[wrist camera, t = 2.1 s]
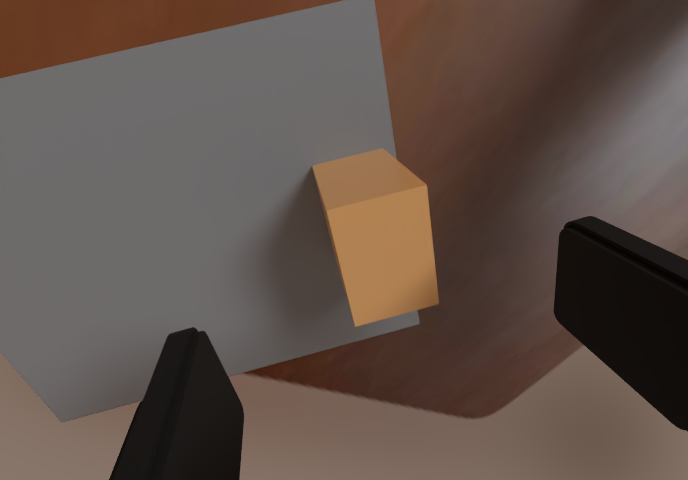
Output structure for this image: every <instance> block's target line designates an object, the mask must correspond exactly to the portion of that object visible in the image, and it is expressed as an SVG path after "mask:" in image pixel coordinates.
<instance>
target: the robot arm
mask: <svg viewBox="0 0 688 480" xmlns="http://www.w3.org/2000/svg"><path fill="white" fill-rule="evenodd" d="M554 314H555V317H556V319H557V320H558V322H559V323H560V324H561V325H562V326H563V327H564V328H566V329H567V330H568V331H569V332H570V333H571V334H572V335H573V336H575V337H576V338H577V339H578V340H579V341H580V342H581V343H582V344H584V345H585V346H586V347H587V348H588V349H589V350H590V351H591V352H593V353H594V354H595V355H596V356H597V357H598V358H599V359H600V360H602V361H603V362H604V363H605V364H606V365H607V366H608V367H609V368H611V369H612V370H613V371H614V372H615V373H616V374H617V375H619V376H620V377H621V378H622V379H623V380H624V381H625V382H626V383H627V384H629V385H630V386H631V387H632V388H633V389H634V390H635V391H636V392H638V393H639V394H640V395H641V396H642V397H643V398H644V399H645V400H647V401H648V402H649V403H650V404H651V405H652V406H653V407H654V408H656V409H657V410H658V411H659V412H660V413H661V414H662V415H663V416H665V417H666V418H667V419H668V420H669V421H670V422H671V423H672V424H674V425H675V426H676V427H678V428H680V429H682V430H687V431H688V260H686V259H684V258H682V257H680V256H678V255H675V254H673V253H671V252H669V251H667V250H665V249H663V248H660V247H658V246H656V245H654V244H652V243H650V242H647V241H645V240H643V239H641V238H639V237H637V236H635V235H632V234H630V233H628V232H626V231H624V230H622V229H620V228H617V227H615V226H613V225H611V224H609V223H607V222H604V221H602V220H600V219H598V218H596V217H593V216H588V217H584V218H581V219H577V220H574V221H570V222H568V223H566V224H565V226H564V229H563V230H561V232H560V235H559V246H558V260H557V273H556V287H555V300H554ZM243 424H244V413H243V407H242V404H241V402H240V400H239V398H238V396H237V394H236V392H235V390H234V388H233V386H232V384H231V382H230V379H229V377H228V375H227V373H226V371H225V369H224V367H223V365H222V363H221V361H220V359H219V357H218V355H217V353H216V351H215V349H214V347H213V345H212V343H211V341H210V339H209V337H208V335H207V334H206V332H205V331H199V332H198V330H197V329H196V328H194V327H192V328H188V329H184V330H181V331H177V332H174V333H171V334H169V335H168V336H167V338H166V341H165V344H164V346H163V349H162V351H161V354H160V357H159V359H158V362H157V365H156V367H155V370H154V372H153V375H152V378H151V380H150V383H149V385H148V388H147V391H146V393H145V396H144V398H143V401H141V402H140V404H139V406H138V408H137V410H136V412H135V415H134V417H133V420H132V423H131V425H130V428H129V430H128V433H127V435H126V438H125V441H124V443H123V446H122V448H121V451H120V453H119V456H118V458H117V461H116V463H115V466H114V469H113V471H112V474H111V476H110V479H109V480H239V475H240V463H241V450H242V437H243Z"/></svg>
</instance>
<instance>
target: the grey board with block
mask: <svg viewBox="0 0 688 480" xmlns="http://www.w3.org/2000/svg"><path fill="white" fill-rule="evenodd" d="M437 304H439V298H438V288H437V278H436V269H435V259H434V249H433V240H432V230H431V221H430V211H429V201H428V192H427V185H426V184H425V183H424V182H423V181H422V180H420V179H419V178H418V177H417V176H416V175H414V174H413V173H412V172H411V171H410V170H408V169H407V168H406V167H405V166H404V165H402V164H401V163H400V162H399V161H398V160H397V159H396V152H395V144H394V137H393V130H392V123H391V116H390V109H389V101H388V94H387V87H386V80H385V73H384V66H383V59H382V51H381V44H380V37H379V30H378V23H377V16H376V8H375V1H374V0H344V1H340V2H335V3H331V4H327V5H322V6H318V7H313V8H309V9H305V10H300V11H296V12H291V13H287V14H283V15H278V16H274V17H269V18H265V19H261V20H256V21H252V22H247V23H243V24H238V25H234V26H230V27H225V28H221V29H216V30H212V31H208V32H203V33H199V34H194V35H190V36H186V37H181V38H177V39H172V40H168V41H164V42H159V43H155V44H150V45H146V46H141V47H137V48H133V49H128V50H124V51H119V52H115V53H111V54H106V55H102V56H97V57H93V58H89V59H84V60H80V61H75V62H71V63H67V64H62V65H58V66H53V67H49V68H44V69H40V70H36V71H31V72H27V73H22V74H18V75H14V76H9V77H5V78H0V353H1V354H2V355H3V356H4V357H5V358H6V360H7V361H8V362H9V363H10V364H11V365H12V366H13V367H14V369H15V370H16V371H17V372H18V373H19V374H20V375H21V377H22V378H23V379H24V380H25V381H26V382H27V383H28V385H29V386H30V387H31V388H32V389H33V390H34V391H35V392H36V393H37V395H38V396H39V397H40V398H41V399H42V400H43V401H44V403H45V404H46V405H47V406H48V407H49V408H50V409H51V411H52V412H53V413H54V414H55V415H56V416H57V417H58V418H59V420H60V421H61V422H66V421H69V420H73V419H77V418H80V417H84V416H88V415H91V414H94V413H98V412H102V411H105V410H109V409H113V408H116V407H120V406H124V405H127V404H131V403H135V402H138V401H142V400H143V398H144V396H145V393H146V391H147V388H148V385H149V383H150V380H151V378H152V375H153V372H154V370H155V367H156V365H157V362H158V359H159V357H160V354H161V351H162V349H163V346H164V344H165V341H166V338H167V336H168V335H169V334H171V333H174V332H177V331H181V330H184V329H188V328H192V327H194V328H196V329H197V330H198V332H199V331H205V332H206V334H207V335H208V337H209V339H210V341H211V343H212V345H213V347H214V349H215V351H216V353H217V355H218V357H219V359H220V361H221V363H222V365H223V367H224V369H225V371H226V373H227V375H228V377H229V376H232V375H236V374H240V373H244V372H247V371H251V370H254V369H258V368H262V367H265V366H269V365H273V364H276V363H280V362H284V361H287V360H291V359H294V358H298V357H302V356H305V355H309V354H313V353H316V352H320V351H323V350H327V349H331V348H334V347H338V346H342V345H345V344H349V343H352V342H356V341H360V340H363V339H367V338H371V337H374V336H378V335H382V334H385V333H389V332H392V331H396V330H400V329H403V328H407V327H411V326H414V325H418V324H420V323H419V316H418V310H419V309H423V308H426V307H430V306H434V305H437Z"/></svg>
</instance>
